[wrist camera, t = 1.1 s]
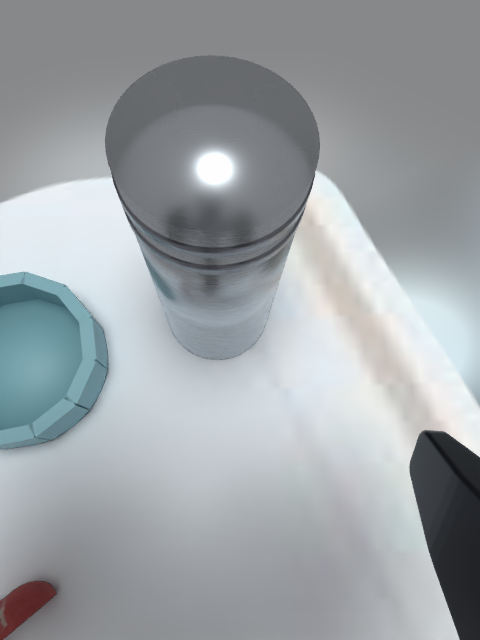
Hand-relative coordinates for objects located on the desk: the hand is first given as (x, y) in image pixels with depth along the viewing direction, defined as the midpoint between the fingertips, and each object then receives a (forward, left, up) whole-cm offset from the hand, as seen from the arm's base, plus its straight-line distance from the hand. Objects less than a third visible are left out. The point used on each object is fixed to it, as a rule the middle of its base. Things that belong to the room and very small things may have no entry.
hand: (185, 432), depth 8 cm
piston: (+5, -5, -13) cm, 15 cm away
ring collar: (+9, +4, -13) cm, 16 cm away
